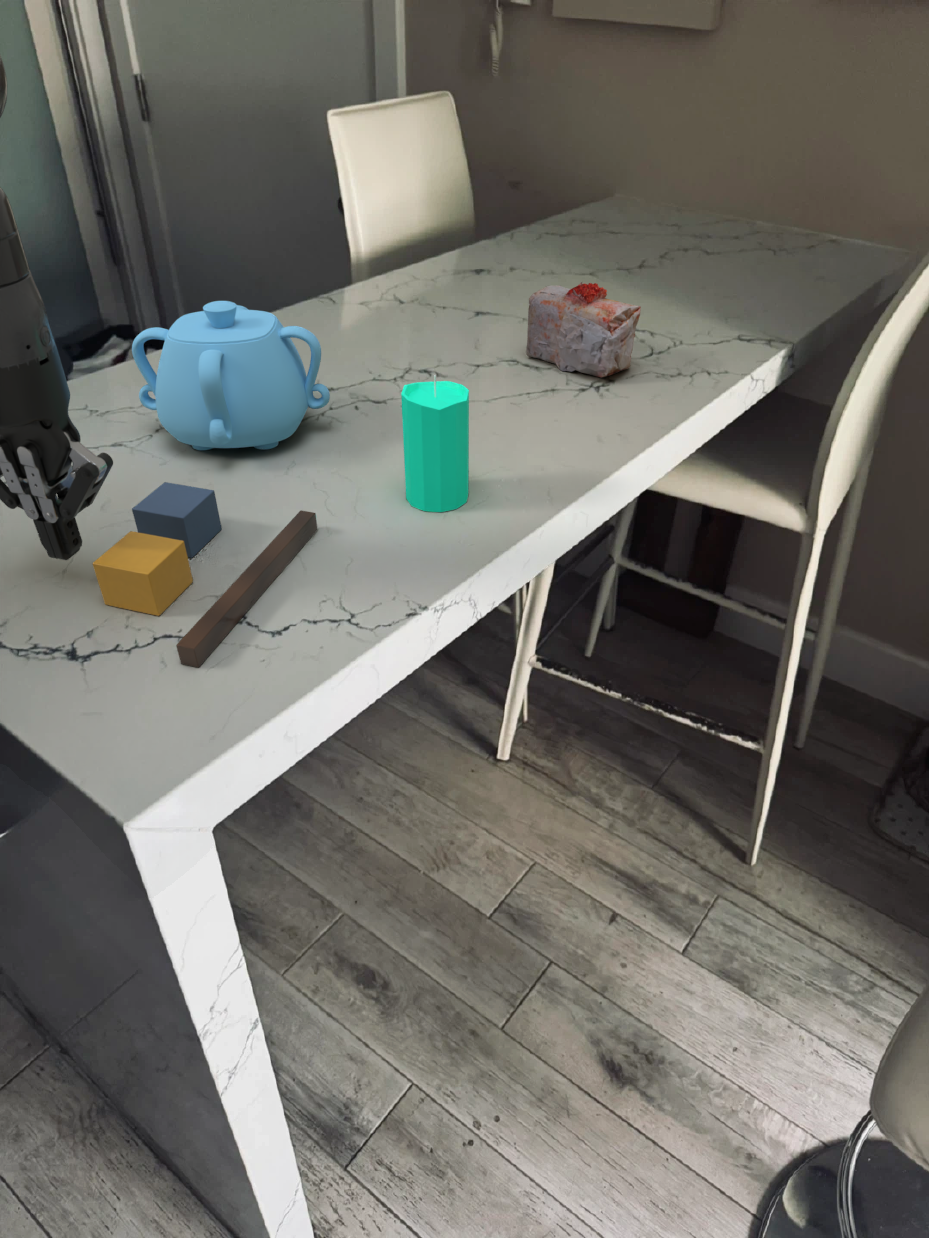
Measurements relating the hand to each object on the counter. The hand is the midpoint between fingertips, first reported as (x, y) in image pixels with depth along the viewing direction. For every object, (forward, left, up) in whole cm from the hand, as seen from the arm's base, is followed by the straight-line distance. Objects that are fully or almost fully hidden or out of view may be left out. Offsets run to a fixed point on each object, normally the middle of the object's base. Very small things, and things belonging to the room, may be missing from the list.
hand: (66, 553), depth 71 cm
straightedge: (+3, -15, -2) cm, 16 cm away
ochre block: (0, -7, -2) cm, 8 cm away
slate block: (+8, -5, -2) cm, 10 cm away
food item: (+59, -30, -2) cm, 66 cm away
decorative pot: (+29, +1, -2) cm, 29 cm away
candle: (+22, -24, -2) cm, 33 cm away
